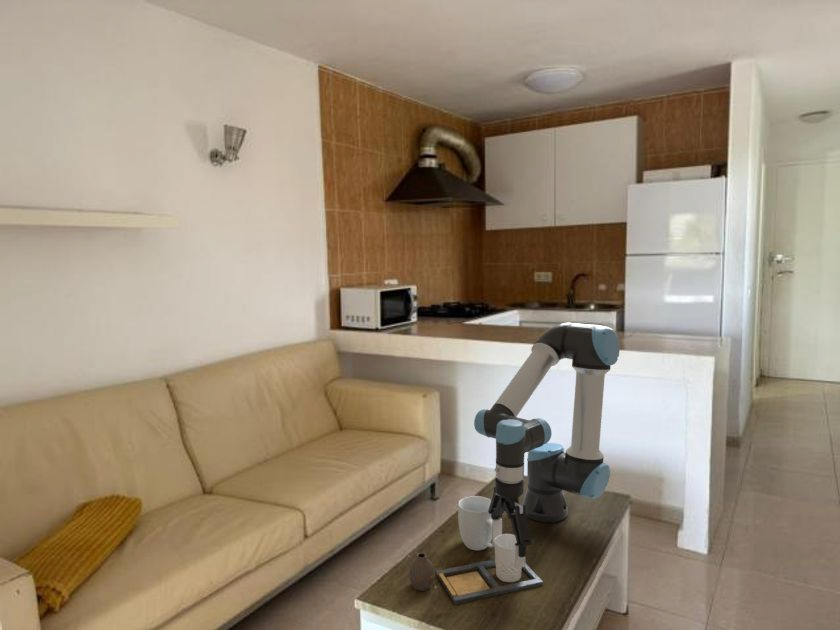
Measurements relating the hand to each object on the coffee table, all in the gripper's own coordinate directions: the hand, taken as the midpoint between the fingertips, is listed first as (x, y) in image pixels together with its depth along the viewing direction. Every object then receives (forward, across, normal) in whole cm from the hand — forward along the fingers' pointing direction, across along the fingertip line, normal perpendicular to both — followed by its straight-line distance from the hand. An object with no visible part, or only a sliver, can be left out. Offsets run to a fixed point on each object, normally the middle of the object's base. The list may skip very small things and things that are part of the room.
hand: (507, 553), depth 155 cm
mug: (+7, -17, -1) cm, 18 cm away
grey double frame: (+7, 0, -6) cm, 9 cm away
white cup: (+7, 0, 0) cm, 7 cm away
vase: (+7, -3, -24) cm, 25 cm away
